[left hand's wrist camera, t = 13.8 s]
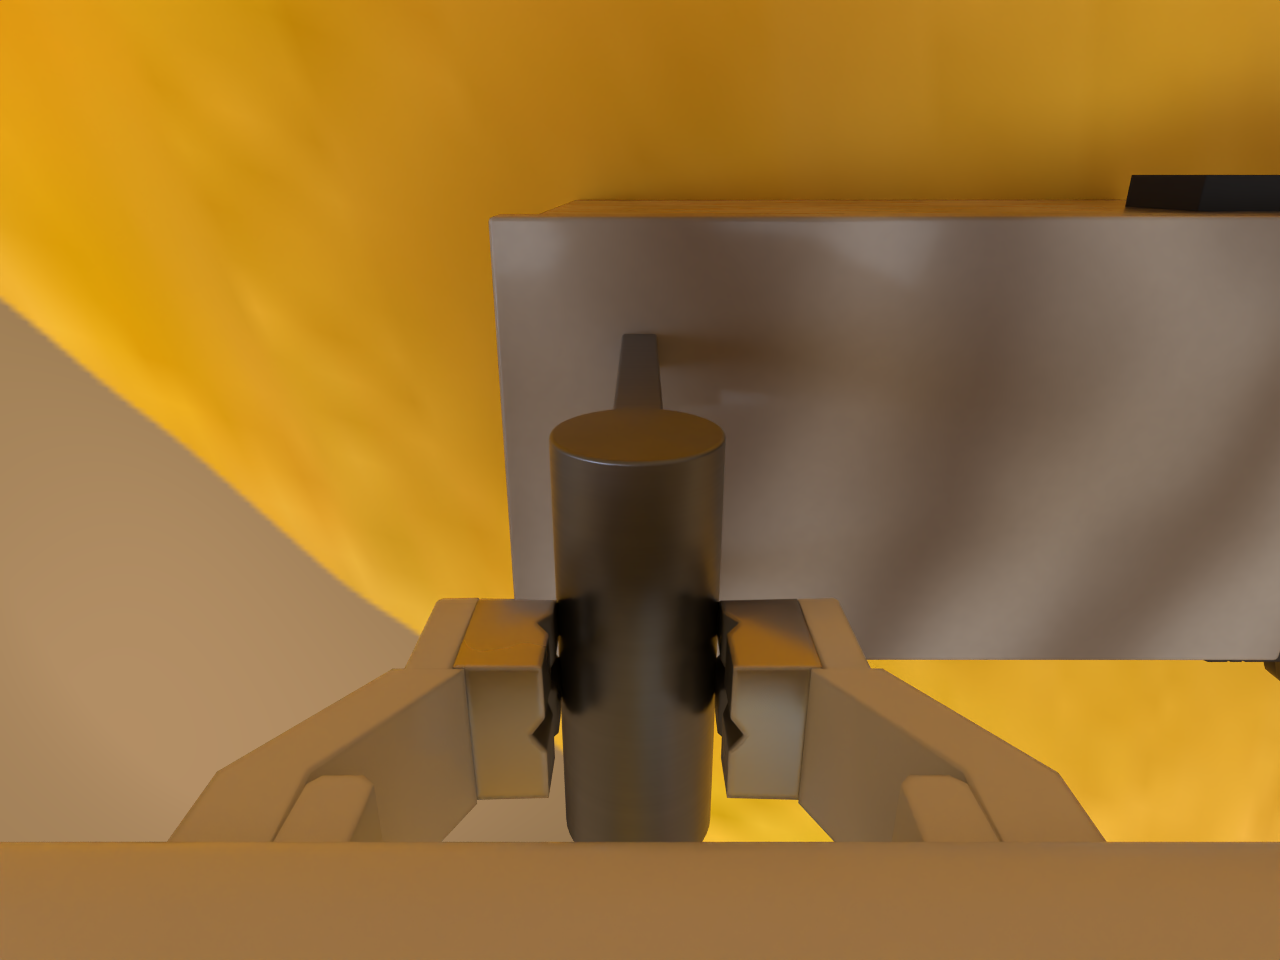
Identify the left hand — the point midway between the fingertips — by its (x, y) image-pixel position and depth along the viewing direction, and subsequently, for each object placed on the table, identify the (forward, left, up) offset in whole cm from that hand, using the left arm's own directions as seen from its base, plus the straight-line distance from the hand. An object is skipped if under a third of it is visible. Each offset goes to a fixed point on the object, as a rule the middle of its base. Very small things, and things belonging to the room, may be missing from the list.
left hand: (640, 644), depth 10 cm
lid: (+4, +5, -8) cm, 10 cm away
